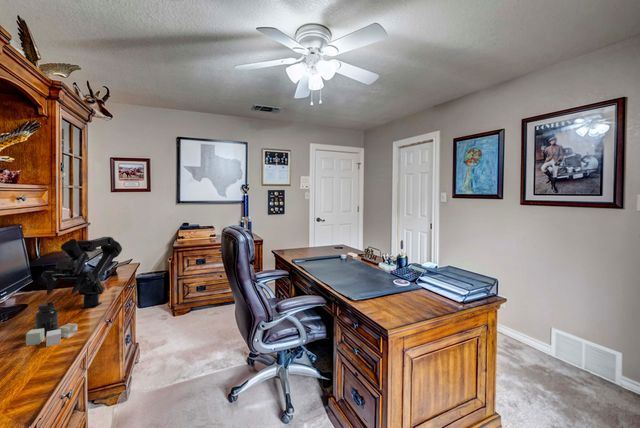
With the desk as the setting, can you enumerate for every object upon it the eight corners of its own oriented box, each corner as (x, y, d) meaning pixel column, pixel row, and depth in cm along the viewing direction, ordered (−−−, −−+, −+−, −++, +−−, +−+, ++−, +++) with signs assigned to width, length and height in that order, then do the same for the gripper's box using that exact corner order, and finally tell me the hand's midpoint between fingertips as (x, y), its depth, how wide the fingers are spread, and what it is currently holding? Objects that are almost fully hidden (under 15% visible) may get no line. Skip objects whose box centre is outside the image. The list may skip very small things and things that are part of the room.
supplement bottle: (56, 327, 125) (56, 300, 124) (59, 332, 121) (59, 304, 120) (34, 333, 120) (33, 304, 119) (36, 338, 115) (36, 308, 115)
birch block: (68, 332, 121) (68, 323, 121) (77, 333, 121) (77, 323, 121) (59, 337, 117) (59, 327, 117) (68, 338, 117) (68, 328, 117)
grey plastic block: (47, 341, 114) (47, 331, 113) (60, 338, 116) (60, 328, 116) (46, 346, 110) (46, 336, 110) (60, 343, 112) (60, 333, 112)
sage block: (30, 341, 113) (30, 329, 113) (44, 339, 115) (44, 328, 115) (26, 346, 110) (25, 334, 110) (40, 344, 112) (39, 332, 111)
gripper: (44, 253, 130) (23, 285, 119) (91, 253, 133) (75, 285, 123) (57, 266, 138) (39, 297, 128) (101, 266, 141) (87, 297, 131)
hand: (59, 294), depth 127 cm, fingers open, 9 cm apart
